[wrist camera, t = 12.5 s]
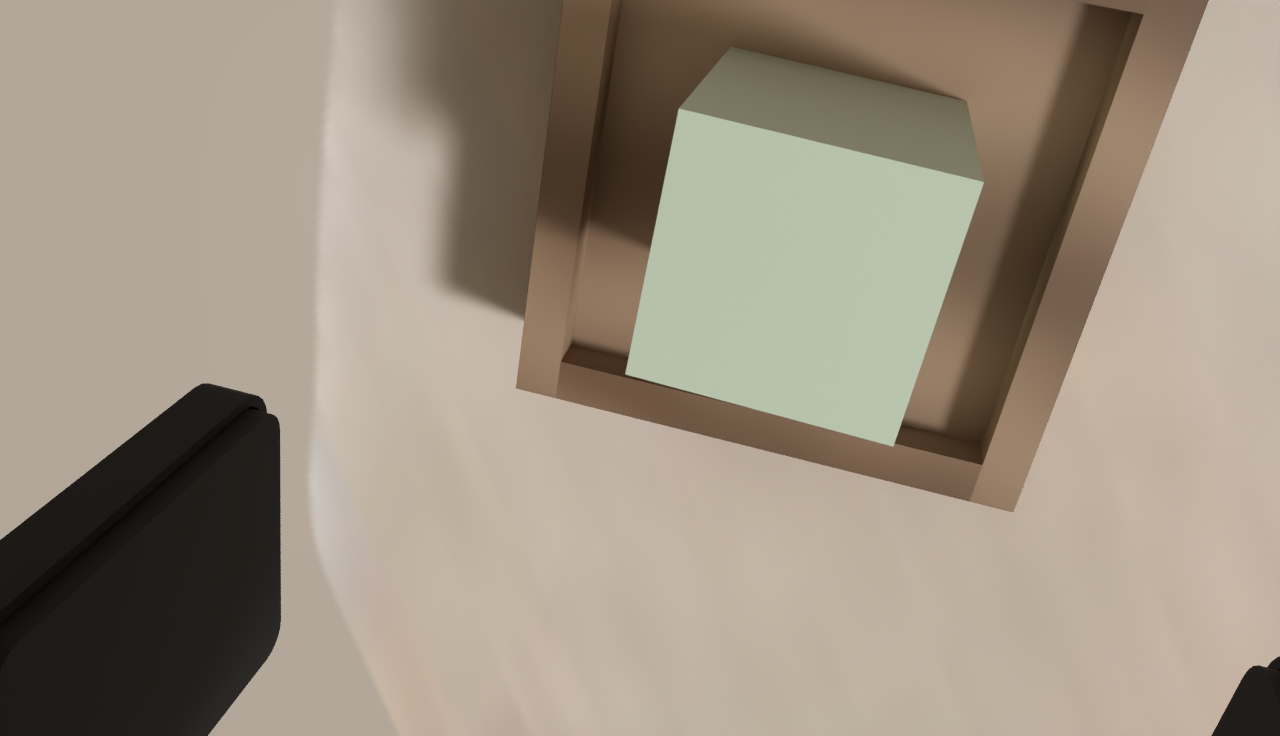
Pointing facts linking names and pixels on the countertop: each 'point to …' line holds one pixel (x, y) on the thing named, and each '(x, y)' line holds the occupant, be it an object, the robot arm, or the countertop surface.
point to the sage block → (805, 242)
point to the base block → (992, 249)
